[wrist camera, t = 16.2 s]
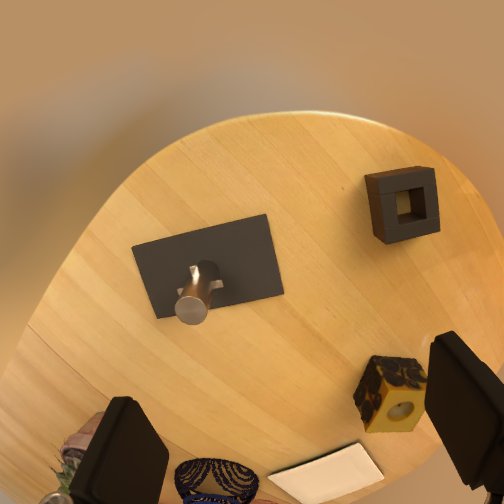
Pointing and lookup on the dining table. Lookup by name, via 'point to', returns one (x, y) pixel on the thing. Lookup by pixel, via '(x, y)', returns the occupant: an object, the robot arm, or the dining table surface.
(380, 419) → the candle
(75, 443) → the potted plant
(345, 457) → the plate
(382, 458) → the dining table surface
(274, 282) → the mat
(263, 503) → the mug
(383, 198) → the dark square ring block
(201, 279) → the bronze metal rod
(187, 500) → the decorative bowl
